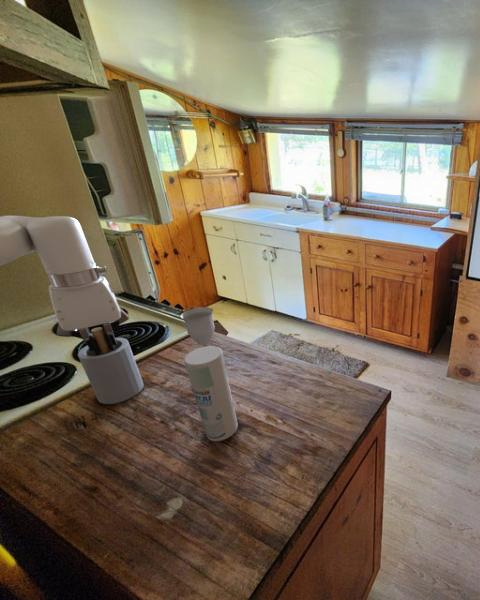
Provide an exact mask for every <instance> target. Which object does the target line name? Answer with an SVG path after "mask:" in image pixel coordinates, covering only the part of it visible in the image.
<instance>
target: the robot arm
mask: <svg viewBox="0 0 480 600" xmlns="http://www.w3.org/2000/svg"><path fill="white" fill-rule="evenodd" d="M35 252H36V253H37V255H38V258H39V260H40V262H41V264H42V266H43V268H44V271H45V273H46V275H47V277H48V279H49V282H50V283H51V284H49V285H48V293H49V298H50V302H51V306H52V308H53V312H54V315H55V317H56V319H57V322H58V323H57V329H56V335H57V336H60V337H61V336H64V337H66V336H67V337H69V336H72V337H74V338H78V339H81V340H83V341H84V342H86V344H87V345H86V346H88V347H89V349H90V351H93V350H94V352H95V354H96V355H98V354H99V353H100V351H99V349H98V346H97V344H96V342H95V339H94V337H93V335H92V332H91V331H90V329H89V328H92V327H96V326H100V325H102V326H103V328H104V333H105V338H106V341H107V343H108V346H109V348H110V350H112V351H113V350H114V345H116V344H117V342H116V340H115V338H116V337H115V335H114V333H115V331H116V330H117V329H118V328H119V326H120V325H121V324H123V323H126V322H127V321H129V319H130V317H129V315H128V314H127V312H125V311H124V310H123V309H122V308H120V304H119V302H118V300H117V297H116V295H115V292H114V291H113V289H112V286H111V285H110V283H109V282H108V280H107V279H106V277H105V276H102V275H105V274H107V273H108V271H107V267H106V266H104V267H101V266H98V265H96V262H95V260H94V257H93V254H92V252H91V249H90V246H89V244H88V241H87V239H86V236H85V233H84V231H83V228H82V225H81V223H80V222H79V221H78V220H77V219H76V218H74V217H71V216H64V215H55V216H43V217H35V216H24V215H0V266H4V265H6V264H8V263H10V262H13V261H15V260H17V259H19V258H20V257H23V256H26V255H29V254H32V253H35Z"/></svg>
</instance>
